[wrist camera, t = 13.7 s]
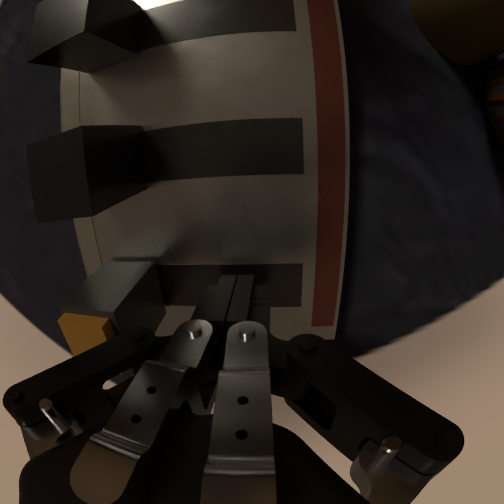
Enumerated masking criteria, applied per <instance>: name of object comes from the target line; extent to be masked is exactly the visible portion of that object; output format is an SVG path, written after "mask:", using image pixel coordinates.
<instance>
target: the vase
mask: <svg viewBox="0 0 504 504" xmlns="http://www.w3.org/2000/svg"><path fill="white" fill-rule="evenodd" d="M485 104H486V110H487V114H488V117H489V120H490V123H491V125H492V127H493V130H494V132H495V133H496V135H497V137H498V138H499V140H500V141H501V143H502V144H503V145H504V59H502V60H501V61H499V62H498V63H497V64H496V65H495V66H494V67H493V69H492V70H491V72H490V73H489V76H488V79H487V82H486V87H485Z"/></svg>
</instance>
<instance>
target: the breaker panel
mask: <svg viewBox="0 0 504 504" xmlns="http://www.w3.org/2000/svg"><path fill="white" fill-rule="evenodd" d="M27 63H34V64H41V65H47V66H54V67H59V68H61V130H62V133H59V134H56V135H53V136H51V137H48V138H45V139H43V140H40V141H38V142H35V143H33V144H31V145H28V146H26V149H27V160H28V169H29V176H30V183H31V190H32V196H33V202H34V207H35V212H36V217H37V221H38V223H41V222H49V221H57V220H65V219H73V220H74V225H75V230H76V234H77V238H78V243H79V247H80V251H81V255H82V258H83V262H84V266H85V269H86V273H87V276H88V277H89V276H90V275H92V274H93V273H94V272H95V271H96V270H97V269H98V268H99V267H101V266H102V265H103V264H104V263H105V262H155V263H156V268H157V273H158V277H159V282H160V287H161V291H162V296H163V300H164V304H165V309H166V314H165V316H164V318H163V320H162V321H161V323H160V325H159V327H158V329H157V330H156V332H155V336H169V335H173V334H174V332H175V330H176V329H177V327H178V326H179V325H180V324H182V323H184V322H186V321H189V320H190V319H191V317H192V315H193V312H194V310H195V308H196V306H197V304H198V301H199V299H200V297H201V294H202V292H203V290H205V289H206V288H207V287H208V286H210V285H218V282H219V279H220V277H221V275H255V285H266V287H267V288H268V289H269V291H270V333H271V334H272V335H273V336H275V337H276V338H278V339H281V340H285V341H289V340H290V339H291V338H293V337H294V336H297V335H300V334H314V335H318V336H320V337H322V338H323V339H325V340H329V339H335V333H336V327H337V320H338V313H339V306H340V298H341V290H342V282H343V272H344V262H345V251H346V239H347V225H348V206H349V177H350V131H349V103H348V86H347V73H346V61H345V51H344V42H343V34H342V27H341V20H340V13H339V7H338V1H337V0H43V1H42V2H40V3H39V4H37V7H36V11H35V16H34V21H33V26H32V31H31V37H30V44H29V51H28V59H27Z"/></svg>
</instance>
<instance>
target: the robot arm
mask: <svg viewBox="0 0 504 504" xmlns="http://www.w3.org/2000/svg"><path fill="white" fill-rule="evenodd" d="M222 366H223V369H222ZM130 368H131V369H132V372H133V374H134V376H133V377H131V378H129V379H127V380H125V381H123V382H122V383H120V384H118V385H116V386H114V387H112V388H110V389H107V390H105V389H102V388H103V384H104V383H105V382H106V381H107V380H109V379H111V378H113V377H115V376H117V375H118V374H120V373H122V372H124V371H126V370H128V369H130ZM271 394H273V395H276V396H280V397H284V399H285V402H286V403H287V405H288V406H290V407H291V408H292V409H293V410H294V411H295V412H296V413H297V414H298V415H299V416H300V417H301V418H302V419H303V420H305V421H306V422H307V423H308V424H309V425H310V426H311V427H312V428H313V429H314V430H316V431H317V432H318V433H319V434H320V435H322V437H324V438H325V439H326V440H327V441H328V442H329V443H330V444H332V445H333V446H334V447H335V448H336V449H338V450H339V451H340V452H341V453H342V454H344V455H345V456H346V457H347V458H348V459H350V460H351V461H352V462H353V463H352V466H351V468H350V476H351V478H352V480H353V482H354V483H355V484H356V485H357V486H358V488H359V490H360V494H361V495H360V494H359V493H358V492H357V491H356V490H355V489H353V488H352V487H351V486H350V485H349V484H348V483H347V482H346V481H344V480H343V479H342V478H341V477H340V476H339V475H338V474H337V473H336V472H335V471H333V470H332V469H331V468H330V467H329V466H328V465H327V464H326V463H325V462H324V461H323V460H322V459H321V458H320V457H319V456H318V455H317V454H316V453H315V452H314V451H313V450H312V449H311V448H310V447H309V446H308V445H307V444H306V443H305V442H304V441H303V440H302V439H301V438H299V437H298V436H297V435H296V434H295V433H293V432H291V431H290V430H288V429H286V428H284V427H282V426H279V425H276V424H273V423H272V404H271ZM214 401H215V406H214V414H210V413H211V410H212V407H213V404H214ZM3 405H4V407H5V408H6V410H7V411H8V412H9V413H10V414H11V416H12V417H13V418H14V419H15V420H16V422H17V424H18V425H19V426H20V427H21V430H22V434H23V438H24V441H25V444H26V447H27V451H28V454H29V456H30V461H28V462H27V463H26V465H25V466H24V468H23V469H22V472H21V474H20V479H19V504H410V503H411V502H412V501H413V500H414V499H415V498H416V496H417V495H418V494H419V493H420V492H421V490H422V489H423V488H424V487H425V485H426V484H427V483H428V482H429V481H430V480H431V479H432V478H433V477H435V476H436V475H437V474H438V473H439V472H441V471H442V470H443V469H444V468H445V467H446V466H447V465H448V464H449V463H451V462H452V461H453V460H454V459H455V458H456V457H457V456H458V455H459V454H460V452H461V451H462V449H463V446H464V435H463V433H462V431H461V429H460V428H459V427H458V426H457V425H456V424H454V423H453V422H451V421H449V420H448V419H446V418H445V417H443V416H441V415H440V414H438V413H436V412H435V411H433V410H431V409H430V408H428V407H427V406H425V405H423V404H422V403H420V402H419V401H417V400H416V399H414V398H412V397H411V396H409V395H408V394H406V393H405V392H403V391H401V390H400V389H398V388H397V387H395V386H394V385H392V384H391V383H389V382H388V381H386V380H384V379H383V378H381V377H380V376H378V375H377V374H375V373H374V372H372V371H371V370H369V369H368V368H366V367H365V366H363V365H362V364H360V363H359V362H357V361H356V360H354V359H353V358H351V357H350V356H348V355H347V354H345V353H344V352H342V351H341V350H339V349H338V348H336V347H335V346H333V345H332V344H331V343H329V342H328V341H326V340H325V339H323V338H322V337H320V336H318V335H314V334H300V335H297V336H294V337H293V338H291V339H290V340H289V341H285V340H281V339H278V338H276V337H275V336H273V335H272V334H271V333H270V291H269V289H268V288H267V287H266V285H255V275H221V277H220V279H219V282H218V285H210V286H208V287H207V288H206V289H205V290H203V292H202V294H201V297H200V299H199V301H198V304H197V306H196V308H195V310H194V312H193V315H192V317H191V319H190V320H189V321H186V322H184V323H182V324H180V325H179V326H178V327H177V329H176V330H175V332H174V334H173V335H169V336H162V337H156V336H155V333H154V331H153V330H152V329H150V328H147V327H136V328H132V329H130V330H128V331H126V332H124V333H122V334H120V335H118V336H116V337H114V338H111V339H109V340H107V341H105V342H103V343H101V344H99V345H97V346H95V347H93V348H91V349H89V350H87V351H85V352H83V353H81V354H78V355H76V356H74V357H72V358H70V359H68V360H66V361H64V362H62V363H60V364H57V365H55V366H53V367H51V368H49V369H47V370H45V371H43V372H41V373H38V374H36V375H34V376H32V377H30V378H28V379H26V380H23V381H21V382H19V383H17V384H15V385H13V386H11V387H10V388H9V389H8V390H7V391H6V392H5V394H4V397H3Z"/></svg>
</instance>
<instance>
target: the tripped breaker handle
mask: <svg viewBox="0 0 504 504" xmlns="http://www.w3.org/2000/svg"><path fill="white" fill-rule="evenodd" d="M58 307H59V309H60V312H61V314H62V316H61V317H60V318H59V319H58V323H59V325H60V327H61V329H62V332H63V334H64V336H65V338H66V340H67V342H68V344H69V346H70V348H71V350H72V352H73V354H74V356H76V355H78V354H81V353H83V352H85V351H87V350H89V349H91V348H93V347H95V346H97V345H99V344H101V343H103V342H105V341H107V340H109V339H111V338H114V337H116V336H118V335H120V334H122V333H124V332H126V331H128V330H130V329H132V328H136V327H147V328H150V329H152V330H153V331H154V333H155V332H156V330H157V329H158V327H159V325H160V323H161V321H162V320H163V318H164V316H165V314H166V309H165V304H164V300H163V296H162V291H161V287H160V282H159V277H158V273H157V268H156V263H155V262H105V263H104V264H103V265H102V266H101V267H99V268H98V269H97V270H96V271H95V272H94V273H93V274H92V275H90V276H89V277H88V278H87V279H86V280H85V281H84V282H83V283H82V284H81V285H79V286H78V287H77V288H76V289H75V290H74V291H73V292H72V293H71V294H70V295H69V296H68V297H67V298H66V299H65V300H64V301H62V302H61V303H60V304H59V305H58ZM130 369H131V368H130ZM122 373H123V372H122ZM122 373H120V374H122Z"/></svg>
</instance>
